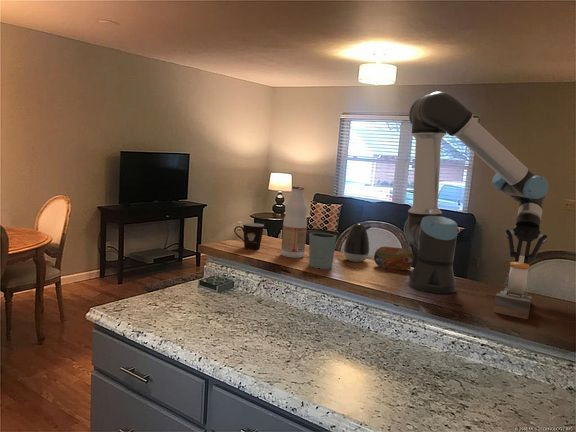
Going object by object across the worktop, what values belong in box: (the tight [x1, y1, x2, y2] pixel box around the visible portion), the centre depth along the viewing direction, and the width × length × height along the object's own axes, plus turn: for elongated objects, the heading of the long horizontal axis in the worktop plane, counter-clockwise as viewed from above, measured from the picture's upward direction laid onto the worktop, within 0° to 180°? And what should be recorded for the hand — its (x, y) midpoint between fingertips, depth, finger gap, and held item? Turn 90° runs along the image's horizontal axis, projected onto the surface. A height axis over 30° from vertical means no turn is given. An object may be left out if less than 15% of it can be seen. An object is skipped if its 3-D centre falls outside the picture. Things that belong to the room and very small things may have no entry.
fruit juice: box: [280, 185, 309, 259], centre depth 191 cm, size 9×9×28 cm
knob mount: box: [493, 287, 532, 320], centre depth 145 cm, size 20×9×5 cm, turn 151°
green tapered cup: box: [308, 232, 337, 270], centre depth 177 cm, size 10×10×12 cm
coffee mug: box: [233, 222, 265, 251], centre depth 201 cm, size 12×9×10 cm
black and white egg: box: [343, 222, 371, 263], centre depth 192 cm, size 10×10×15 cm
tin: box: [373, 245, 415, 271], centre depth 185 cm, size 15×3×8 cm, turn 81°
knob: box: [506, 261, 531, 298], centre depth 149 cm, size 5×5×10 cm
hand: (519, 274), depth 155 cm, fingers closed
